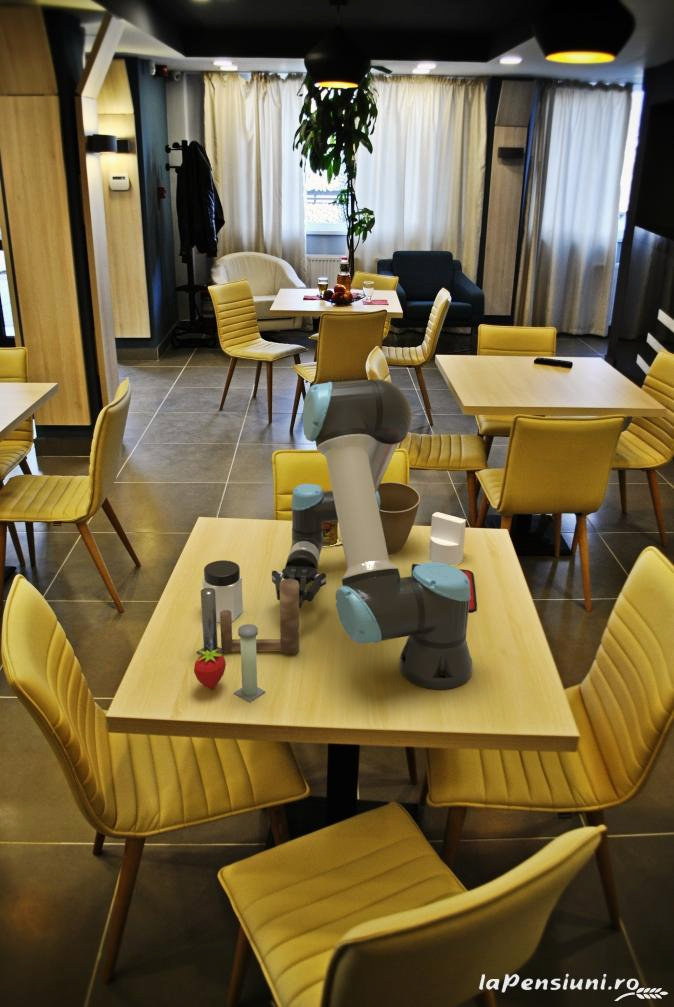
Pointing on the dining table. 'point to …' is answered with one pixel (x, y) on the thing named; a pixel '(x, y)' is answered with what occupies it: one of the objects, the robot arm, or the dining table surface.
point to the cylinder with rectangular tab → (447, 539)
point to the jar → (225, 586)
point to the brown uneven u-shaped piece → (287, 624)
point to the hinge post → (209, 621)
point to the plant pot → (397, 513)
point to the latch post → (248, 663)
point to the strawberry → (209, 668)
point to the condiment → (330, 532)
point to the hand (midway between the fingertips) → (290, 612)
